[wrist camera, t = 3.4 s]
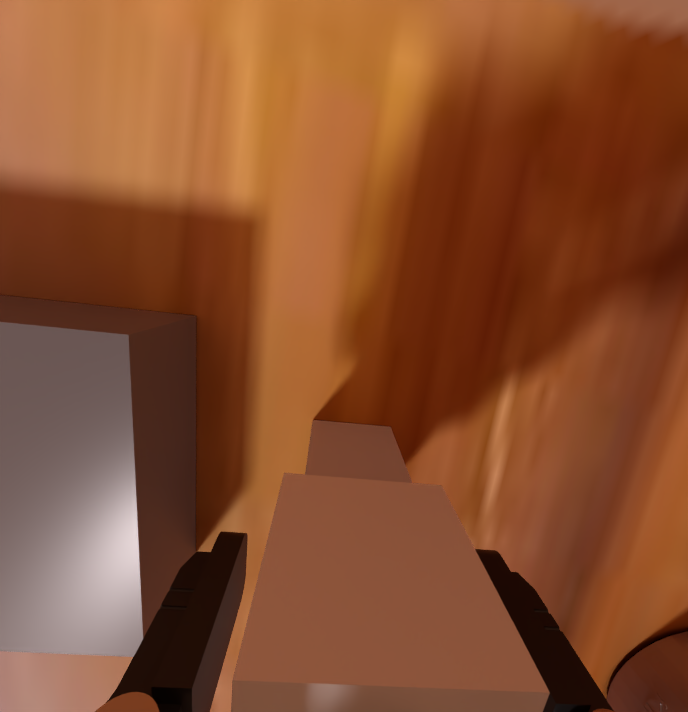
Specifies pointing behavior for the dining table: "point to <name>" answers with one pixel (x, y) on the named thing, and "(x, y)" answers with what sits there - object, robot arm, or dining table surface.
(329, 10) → the dining table surface
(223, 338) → the dining table surface
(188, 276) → the dining table surface
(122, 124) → the dining table surface
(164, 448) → the socket
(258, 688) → the plug
